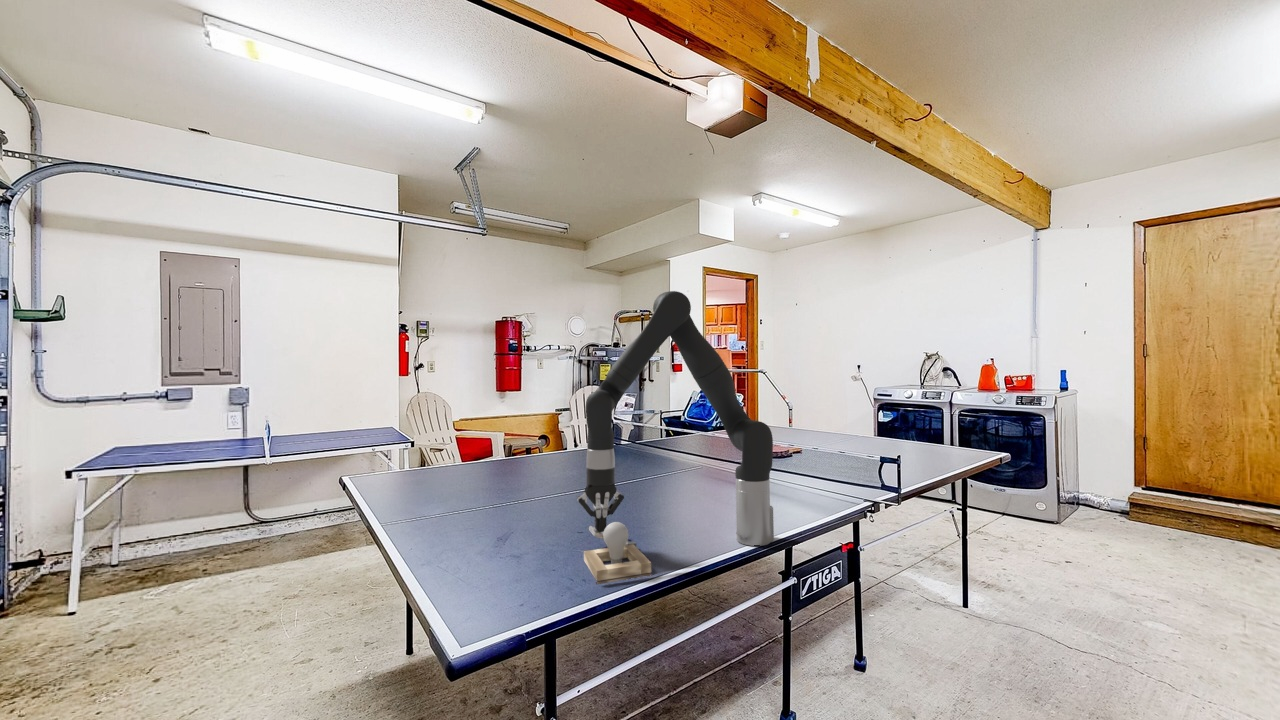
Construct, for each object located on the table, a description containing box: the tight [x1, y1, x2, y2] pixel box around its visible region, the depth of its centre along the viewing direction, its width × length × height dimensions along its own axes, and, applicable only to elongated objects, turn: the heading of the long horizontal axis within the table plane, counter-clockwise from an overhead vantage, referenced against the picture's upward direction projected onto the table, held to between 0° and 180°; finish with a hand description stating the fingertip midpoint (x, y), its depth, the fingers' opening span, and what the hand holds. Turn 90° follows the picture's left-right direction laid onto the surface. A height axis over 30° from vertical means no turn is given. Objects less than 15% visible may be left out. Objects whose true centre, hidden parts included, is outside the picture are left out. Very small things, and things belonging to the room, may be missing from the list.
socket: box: [583, 544, 652, 585], centre depth 119 cm, size 13×13×3 cm
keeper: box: [588, 525, 630, 545], centre depth 132 cm, size 12×6×1 cm, turn 109°
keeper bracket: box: [628, 541, 637, 547], centre depth 134 cm, size 2×9×2 cm, turn 19°
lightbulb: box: [603, 521, 630, 564], centre depth 120 cm, size 6×6×11 cm
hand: (600, 531), depth 131 cm, fingers closed
